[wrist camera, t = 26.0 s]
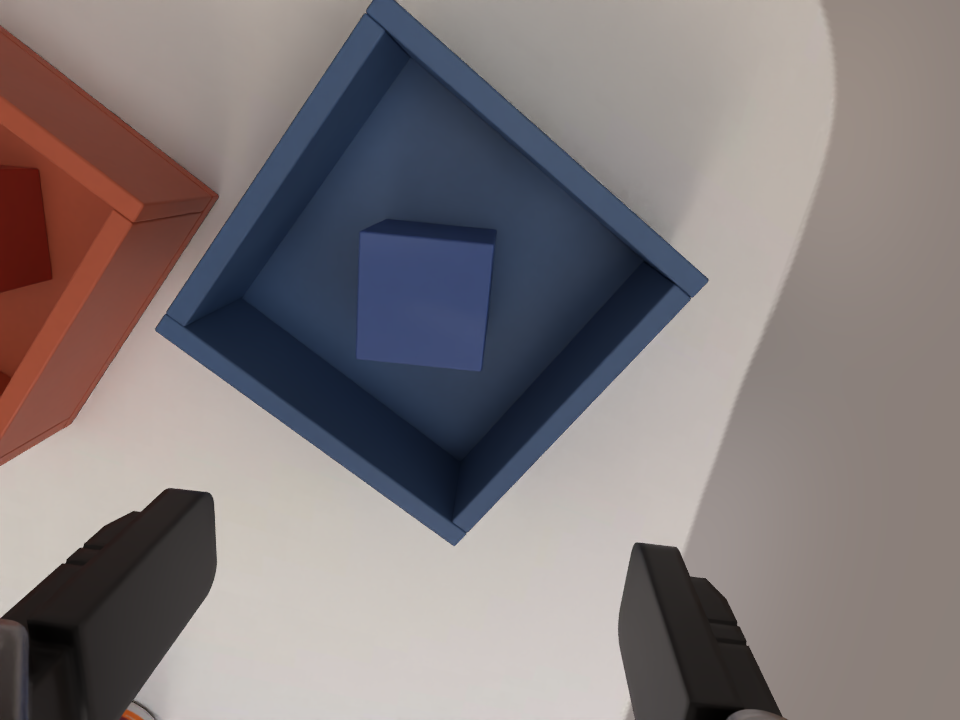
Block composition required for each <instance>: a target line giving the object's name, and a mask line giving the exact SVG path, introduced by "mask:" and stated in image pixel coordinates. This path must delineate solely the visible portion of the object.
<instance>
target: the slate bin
mask: <svg viewBox="0 0 960 720" xmlns="http://www.w3.org/2000/svg"><path fill="white" fill-rule="evenodd" d="M366 13H367V14H366ZM366 13H365V14H364V15H363V16H362V18H361V19H360V21H359V22H358V24H357V25H356V27H355V28H354V30H353V31H352V33H351V34H350V36H349V37H348V39H347V40H346V42H345V43H344V45H343V46H342V48H341V49H340V51H339V52H338V54H337V55H336V57H335V58H334V60H333V61H332V63H331V64H330V66H329V67H328V69H327V70H326V72H325V73H324V75H323V76H322V78H321V79H320V81H319V82H318V84H317V85H316V87H315V88H314V90H313V91H312V93H311V94H310V96H309V97H308V99H307V101H306V102H305V104H304V105H303V107H302V108H301V110H300V111H299V113H298V114H297V116H296V117H295V119H294V120H293V122H292V123H291V125H290V126H289V128H288V129H287V131H286V132H285V134H284V135H283V137H282V138H281V140H280V141H279V143H278V144H277V146H276V147H275V149H274V150H273V152H272V153H271V155H270V156H269V158H268V159H267V161H266V162H265V164H264V165H263V167H262V168H261V170H260V171H259V173H258V174H257V176H256V177H255V179H254V180H253V182H252V183H251V185H250V186H249V188H248V189H247V191H246V192H245V194H244V196H243V197H242V199H241V200H240V202H239V203H238V205H237V206H236V208H235V209H234V211H233V212H232V214H231V215H230V217H229V218H228V220H227V221H226V223H225V224H224V226H223V227H222V229H221V230H220V232H219V233H218V235H217V236H216V238H215V239H214V241H213V242H212V244H211V245H210V247H209V248H208V250H207V251H206V253H205V254H204V256H203V257H202V259H201V260H200V262H199V263H198V265H197V266H196V268H195V269H194V271H193V272H192V274H191V275H190V277H189V278H188V280H187V281H186V283H185V284H184V286H183V288H182V289H181V291H180V292H179V294H178V295H177V297H176V298H175V300H174V301H173V303H172V304H171V306H170V307H169V309H168V310H167V312H166V313H167V314H165V315H164V316H163V318H162V319H161V321H160V322H159V324H158V325H157V327H156V329H155V330H156V332H158V333H159V334H161V335H162V336H163V337H165V338H166V339H168V340H169V341H170V342H172V343H173V344H174V345H176V346H177V347H179V348H180V349H181V350H183V351H184V352H186V353H187V354H188V355H190V356H191V357H192V358H194V359H195V360H197V361H198V362H199V363H201V364H202V365H204V366H205V367H206V368H208V369H209V370H210V371H212V372H213V373H215V374H216V375H217V376H219V377H220V378H222V379H223V380H224V381H226V382H227V383H229V384H230V385H231V386H233V387H234V388H235V389H237V390H238V391H240V392H241V393H242V394H244V395H245V396H247V397H248V398H249V399H251V400H252V401H253V402H255V403H256V404H258V405H259V406H260V407H262V408H263V409H265V410H266V411H267V412H269V413H270V414H271V415H273V416H274V417H276V418H277V419H278V420H280V421H281V422H283V423H284V424H285V425H287V426H288V427H289V428H291V429H292V430H294V431H295V432H296V433H298V434H299V435H301V436H302V437H303V438H305V439H306V440H308V441H309V442H310V443H312V444H313V445H314V446H316V447H317V448H319V449H320V450H321V451H323V452H324V453H326V454H327V455H328V456H330V457H331V458H332V459H334V460H335V461H337V462H338V463H339V464H341V465H342V466H344V467H345V468H346V469H348V470H349V471H350V472H352V473H353V474H355V475H356V476H357V477H359V478H360V479H362V480H363V481H364V482H366V483H367V484H368V485H370V486H371V487H373V488H374V489H375V490H377V491H378V492H380V493H381V494H382V495H384V496H385V497H387V498H388V499H389V500H391V501H392V502H393V503H395V504H396V505H398V506H399V507H400V508H402V509H403V510H405V511H406V512H407V513H409V514H410V515H411V516H413V517H414V518H416V519H417V520H418V521H420V522H421V523H423V524H424V525H425V526H427V527H428V528H429V529H431V530H432V531H434V532H435V533H436V534H438V535H439V536H441V537H442V538H443V539H445V540H446V541H447V542H449V543H450V544H452V545H453V546H455V545H456V544H457V543H458V542H459V541H460V540H461V539H462V538H463V537H464V536H465V535H466V532H469V531H470V530H471V529H472V527H473V526H474V525H475V524H476V523H477V522H478V521H479V520H480V519H481V518H482V517H483V516H484V515H485V514H486V513H487V512H488V511H489V510H490V509H491V508H492V507H493V506H494V504H495V503H496V502H497V501H498V500H499V499H500V498H501V497H502V496H503V495H504V494H505V493H506V492H507V491H508V490H509V489H510V488H511V487H512V486H513V485H514V484H515V483H516V482H517V480H518V479H519V478H520V477H521V476H522V475H523V474H524V473H525V472H526V471H527V470H528V469H529V468H530V467H531V466H532V465H533V464H534V463H535V462H536V461H537V460H538V459H539V457H540V456H541V455H542V454H543V453H544V452H545V451H546V450H547V449H548V448H549V447H550V446H551V445H552V444H553V443H554V442H555V441H556V440H557V439H558V438H559V437H560V436H561V435H562V433H563V432H564V431H565V430H566V429H567V428H568V427H569V426H570V425H571V424H572V423H573V422H574V421H575V420H576V419H577V418H578V417H579V416H580V415H581V414H582V413H583V412H584V410H585V409H586V408H587V407H588V406H589V405H590V404H591V403H592V402H593V401H594V400H595V399H596V398H597V397H598V396H599V395H600V394H601V393H602V392H603V391H604V390H605V389H606V388H607V386H608V385H609V384H610V383H611V382H612V381H613V380H614V379H615V378H616V377H617V376H618V375H619V374H620V373H621V372H622V371H623V370H624V369H625V368H626V367H627V366H628V365H629V363H630V362H631V361H632V360H633V359H634V358H635V357H636V356H637V355H638V354H639V353H640V352H641V351H642V350H643V349H644V348H645V347H646V346H647V345H648V344H649V343H650V342H651V341H652V339H653V338H654V337H655V336H656V335H657V334H658V333H659V332H660V331H661V330H662V329H663V328H664V327H665V326H666V325H667V324H668V323H669V322H670V321H671V320H672V319H673V318H674V316H675V315H676V314H677V313H678V312H679V311H680V310H681V309H682V308H683V307H684V306H685V305H686V304H687V303H688V302H689V301H690V299H691V297H694V296H695V295H696V294H697V293H698V292H699V291H700V290H701V289H702V287H703V286H704V285H705V284H706V283H707V282H708V281H709V280H708V278H707V277H706V276H704V275H703V274H702V273H701V272H700V271H699V270H698V269H697V268H695V267H694V266H693V265H692V264H691V263H690V262H689V261H688V260H686V259H685V258H684V257H683V256H682V255H681V254H680V253H679V252H677V251H676V250H675V249H674V248H673V247H672V246H671V245H670V244H668V243H667V242H666V241H665V240H664V239H663V238H662V237H661V236H659V235H658V234H657V233H656V232H655V231H654V230H653V229H652V228H650V227H649V226H648V225H647V224H646V223H645V222H644V221H643V220H641V219H640V218H639V217H638V216H637V215H636V214H635V213H634V212H632V211H631V210H630V209H629V208H628V207H627V206H626V205H625V204H623V203H622V202H621V201H620V200H619V199H618V198H617V197H616V196H614V195H613V194H612V193H611V192H610V191H609V190H608V189H607V188H605V187H604V186H603V185H602V184H601V183H600V182H599V181H598V180H596V179H595V178H594V177H593V176H592V175H591V174H590V173H589V172H587V171H586V170H585V169H584V168H583V167H582V166H581V165H579V164H578V163H577V162H576V161H575V160H574V159H573V158H572V157H570V156H569V155H568V154H567V153H566V152H565V151H564V150H563V149H561V148H560V147H559V146H558V145H557V144H556V143H555V142H554V141H552V140H551V139H550V138H549V137H548V136H547V135H546V134H545V133H543V132H542V131H541V130H540V129H539V128H538V127H537V126H536V125H534V124H533V123H532V122H531V121H530V120H529V119H528V118H527V117H525V116H524V115H523V114H522V113H521V112H520V111H519V110H518V109H516V108H515V107H514V106H513V105H512V104H511V103H510V102H509V101H507V100H506V99H505V98H504V97H503V96H502V95H501V94H500V93H498V92H497V91H496V90H495V89H494V88H493V87H492V86H491V85H489V84H488V83H487V82H486V81H485V80H484V79H483V78H482V77H480V76H479V75H478V74H477V73H476V72H475V71H474V70H473V69H471V68H470V67H469V66H468V65H467V64H466V63H465V62H464V61H462V60H461V59H460V58H459V57H458V56H457V55H456V54H455V53H453V52H452V51H451V50H450V49H449V48H448V47H447V46H446V45H444V44H443V43H442V42H441V41H440V40H439V39H438V38H436V37H435V36H434V35H433V34H432V33H431V32H430V31H429V30H427V29H426V28H425V27H424V26H423V25H422V24H421V23H420V22H418V21H417V20H416V19H415V18H414V17H413V16H412V15H411V14H409V13H408V12H407V11H406V10H405V9H404V8H403V7H402V6H400V5H399V4H398V3H397V2H396V1H395V0H373V1H372V2H371V4H370V5H369V7H368V8H367V10H366ZM385 219H392V220H402V221H412V222H423V223H433V224H443V225H453V226H463V227H473V228H484V229H494V230H496V232H497V235H496V245H495V255H494V265H493V275H492V285H491V295H490V305H489V315H488V325H487V335H486V344H485V352H484V360H483V368H482V371H480V372H478V371H468V370H458V369H448V368H438V367H429V366H419V365H409V364H399V363H389V362H379V361H370V360H360V359H356V357H355V353H356V320H357V287H358V254H359V232H360V231H361V230H364V229H366V228H368V227H370V226H372V225H374V224H376V223H379V222H381V221H383V220H385Z"/></svg>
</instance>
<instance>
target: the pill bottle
mask: <svg viewBox="0 0 960 720" xmlns="http://www.w3.org/2000/svg"><path fill="white" fill-rule="evenodd" d="M119 720H155V719H154V718H153V717H152V716H151V715H150V714H149V713H148V712H147V711H146V710H144V709H143V708H142V707H140V706H138V705H137V704H135V703H133V702H131V703H130V705H129V706H128V708H127V709H126V710H125V712H124V713H123V715H122V716H121V717H120V719H119Z"/></svg>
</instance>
